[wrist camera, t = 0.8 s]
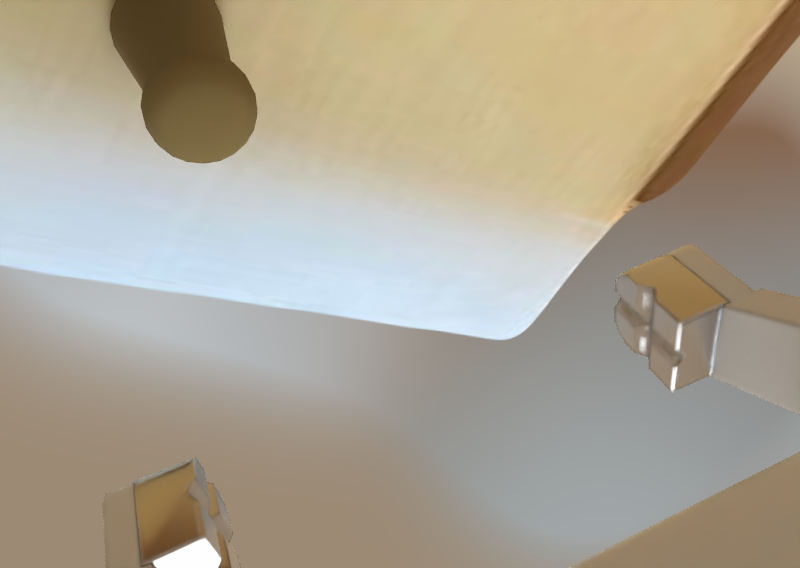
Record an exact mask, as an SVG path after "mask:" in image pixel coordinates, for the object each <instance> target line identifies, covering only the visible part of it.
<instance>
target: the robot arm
mask: <svg viewBox="0 0 800 568" xmlns="http://www.w3.org/2000/svg"><path fill="white" fill-rule="evenodd" d="M615 291H616V292H617V293H618V294H619V295H620V296H621V298H620V300H619V301H618V303H617V305H616V306H615V309H614V313H615V315H614V316H615V323H616V326H617V329H618V332H619V334H620V336H621V337H622V339H623V340H624V342H625V343H626V345H627V346H628V347H629V348H630V349H631V350H632V351H633V352H634V353H637V354H640V355H643V356H646V357H648V359H649V369H650V370H651V371H652V372H653V373H654V374H655V375H656V376H657V377H658V378H659V379H660V380H661V381H662V382H663V383H664V385H665V386H666V387H668V389H669V390H670V391H671V392H673V391H675V390H678V389H680V388H682V387H685V386H687V385H689V384H692V383H694V382H696V381H699V380H701V379H703V378H705V377H708V376H710V375H712V378H715V379H717V380H719V381H722V382H724V383H726V384H729V385H731V386H734V387H736V388H738V389H741V390H743V391H745V392H748V393H750V394H753V395H755V396H757V397H760V398H762V399H764V400H767V401H769V402H771V403H774V404H776V405H779V406H781V407H784V408H786V409H788V410H790V411H793V412H795V413H798V414H800V298H799V297H795V296H790V295H786V294H782V293H778V292H773V291H769V290H765V289H760V290H757V291H754V290H752V289H751V288H750V287H748V286H747V285H746V284H744V283H743V282H742V281H741V280H739V279H738V278H737V277H735V276H734V275H733V274H731V273H730V272H729V271H728V270H726V269H725V268H724V267H722V266H721V265H720V264H718V263H717V262H716V261H714V260H713V259H712V258H711V257H709V256H708V255H707V254H705V253H704V252H703V251H701V250H700V249H699V248H698V247H696V246H693V245H690V244H688V245H686V246H683V247H681V248H679V249H676V250H674V251H672V252H669V253H667V254H665V255H663V256H659V257H657V258H655V259H653V260H650V261H648V262H646V263H644V264H641V265H639V266H637V267H635V268H632V269H630V270H628V271H626V272H623V273H621V274H619V275H618V277H617V279H616V281H615ZM103 523H104V541H105V561H106V568H241V567H240V562H239V558H238V555H237V554H236V552H235V551H234V549H233V548H232V547H231V545H230V544H229V543H230V540H231V538H232V535H233V531H232V526H231V522H230V518H229V515H228V512H227V510H226V507H225V504H224V501H223V500H222V497H221V495H220V493H219V491H218V490H217V488H216V487H215V485H214V484H213V483H210V482H206V477H205V472H204V469H203V467H202V466H201V464H200V463H199V461H198V460H197V459H196V458H192V459H190V460H187V461H185V462H182V463H180V464H177V465H175V466H172V467H170V468H167V469H165V470H162V471H160V472H157V473H155V474H152V475H150V476H147V477H145V478H142V479H140V480H137V481H135V482H134V483H131V484H129V485H126V486H124V487H121V488H119V489H116V490H114V491H111V492H109V493H106V494H105V497H104V501H103ZM569 568H800V452H798V453H796V454H794V455H793V456H790V457H789V458H786V459H784V460H782V461H780V462H778V463H777V464H774V465H773V466H771V467H769V468H767V469H765V470H763V471H761V472H759V473H757V474H755V475H753V476H751V477H749V478H747V479H745V480H743V481H741V482H739V483H737V484H735V485H733V486H731V487H729V488H727V489H725V490H723V491H721V492H719V493H717V494H715V495H713V496H711V497H709V498H707V499H705V500H703V501H701V502H699V503H697V504H695V505H693V506H691V507H689V508H687V509H685V510H683V511H681V512H679V513H677V514H675V515H673V516H671V517H669V518H667V519H665V520H663V521H661V522H659V523H657V524H655V525H653V526H651V527H649V528H647V529H645V530H643V531H641V532H639V533H637V534H635V535H633V536H631V537H629V538H627V539H625V540H623V541H621V542H619V543H617V544H615V545H613V546H611V547H609V548H607V549H605V550H603V551H601V552H599V553H597V554H595V555H593V556H591V557H589V558H587V559H585V560H583V561H581V562H579V563H577V564H575V565H573V566H571V567H569Z"/></svg>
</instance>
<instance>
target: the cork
mask: <svg viewBox="0 0 800 568" xmlns="http://www.w3.org/2000/svg"><path fill="white" fill-rule="evenodd" d="M110 31H111V35H112V39H113V43H114V46H115V48H116V49H117V51H118V53H119V54H120V56H121V57H122V59H123V60H124V62H125V64H126V65H127V67H128V68H129V70H130V71H131V73H132V74H133V76H134V78H135V79H136V81H137V82H138V84H139V85H140V87H141V88H142V90H143V92H142V100H141V109H142V113H143V117H144V121H145V125H146V128H147V130H148V131H149V133H150V134H151V136H152V137H153V139H154V140H155V142H156V143H157V144H158V145H159V146H160V147H161V148H163V149H164V150H165V151H166V152H168V153H169V154H170V155H171V156H173V157H176V158H179V159H181V160H184V161H186V162H194V163H210V162H216V161H221V160H223V159H225V158H227V157H229V156H231V155H233V154H234V153H235V152H237V151H238V150H239V149H240V148H241V147H242V146H243V145H244V144H246V142H247V141H248V139H249V137H250V136H251V134H252V132H253V131H254V127H255V123H256V119H257V105H256V96H255V93H254V91H253V89H252V87H251V84H250V82H249V80H248V79H247V77H246V75H245V74H244V73H243V72H242V71H241V70H240V69H239V68H238V67H237V66H236V65H235V64H234V63H233V62H232V61H231V60H230V55H229V51H228V46H227V41H226V37H225V32H224V27H223V22H222V18H221V15H220V13H219V11H218V8H217V6H216V4H215V2H214V0H117V2H116V4H115V6H114V8H113V10H112V14H111V24H110Z"/></svg>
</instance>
